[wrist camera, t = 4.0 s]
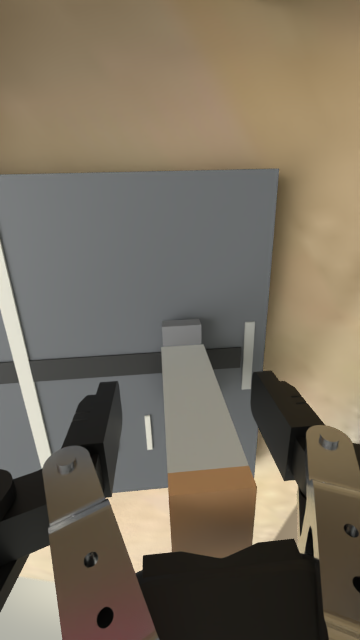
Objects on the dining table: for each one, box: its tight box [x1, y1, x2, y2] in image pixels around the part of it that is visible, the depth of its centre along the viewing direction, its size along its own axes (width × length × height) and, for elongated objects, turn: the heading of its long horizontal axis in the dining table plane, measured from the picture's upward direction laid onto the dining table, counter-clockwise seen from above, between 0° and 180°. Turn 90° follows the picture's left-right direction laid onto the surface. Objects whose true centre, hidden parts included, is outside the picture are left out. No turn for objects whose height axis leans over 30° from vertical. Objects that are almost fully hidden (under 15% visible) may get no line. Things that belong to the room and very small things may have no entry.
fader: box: [161, 319, 257, 558], centre depth 11 cm, size 2×5×8 cm, turn 2°
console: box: [0, 169, 279, 493], centre depth 16 cm, size 17×18×2 cm
